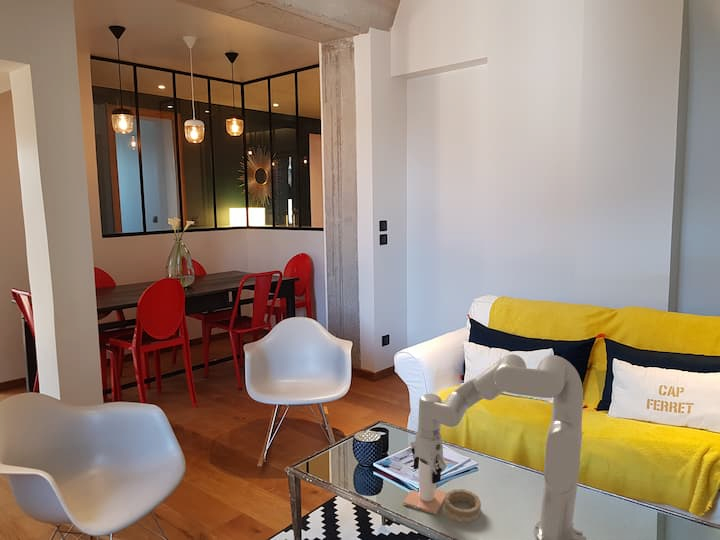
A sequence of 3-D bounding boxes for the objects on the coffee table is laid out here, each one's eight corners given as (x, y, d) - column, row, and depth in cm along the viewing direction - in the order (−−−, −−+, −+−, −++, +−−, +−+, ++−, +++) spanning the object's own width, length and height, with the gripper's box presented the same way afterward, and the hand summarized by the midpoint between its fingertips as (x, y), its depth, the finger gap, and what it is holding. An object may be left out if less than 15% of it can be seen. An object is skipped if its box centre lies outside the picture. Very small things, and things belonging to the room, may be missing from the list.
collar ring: (483, 505, 193) (483, 495, 192) (474, 526, 182) (475, 515, 181) (449, 495, 198) (450, 485, 197) (439, 515, 187) (440, 505, 186)
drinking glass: (440, 497, 195) (442, 459, 192) (429, 506, 190) (431, 467, 187) (424, 489, 199) (426, 451, 196) (413, 497, 195) (414, 459, 191)
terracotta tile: (446, 494, 198) (447, 492, 198) (436, 514, 188) (436, 512, 187) (415, 485, 203) (415, 483, 203) (403, 504, 193) (403, 502, 192)
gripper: (455, 438, 184) (452, 484, 188) (420, 416, 198) (418, 459, 202) (438, 445, 180) (435, 491, 184) (404, 422, 194) (402, 466, 198)
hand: (426, 474), depth 193 cm, fingers open, 9 cm apart
